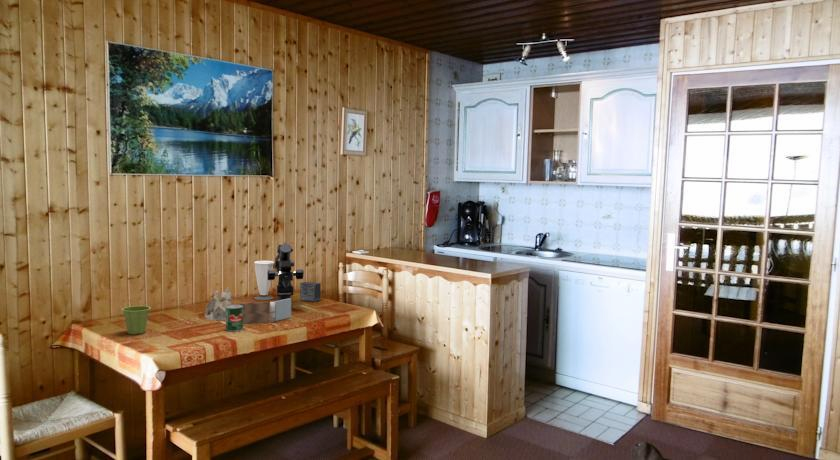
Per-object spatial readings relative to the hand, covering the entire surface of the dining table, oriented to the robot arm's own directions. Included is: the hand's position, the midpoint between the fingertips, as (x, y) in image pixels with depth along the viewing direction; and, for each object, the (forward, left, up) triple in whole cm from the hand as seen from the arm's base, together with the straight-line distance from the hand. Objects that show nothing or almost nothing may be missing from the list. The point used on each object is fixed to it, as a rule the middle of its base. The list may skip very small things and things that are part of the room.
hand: (286, 287), depth 314 cm
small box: (-10, +32, -14) cm, 37 cm away
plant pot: (-29, -67, -14) cm, 74 cm away
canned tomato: (+3, -39, -14) cm, 41 cm away
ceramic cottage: (-23, -25, -14) cm, 37 cm away
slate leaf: (+8, -13, -13) cm, 21 cm away
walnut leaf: (+3, -24, -14) cm, 28 cm away
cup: (-37, +22, -14) cm, 46 cm away
